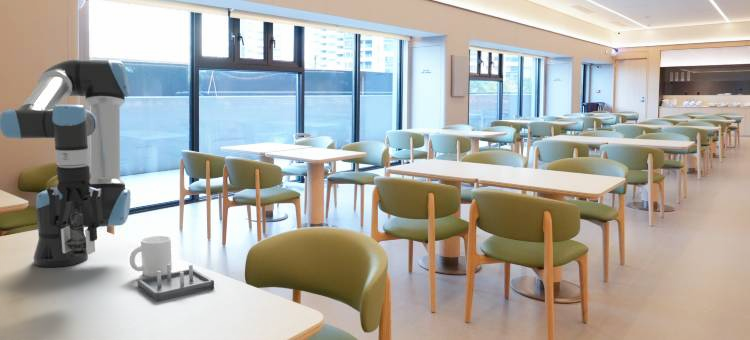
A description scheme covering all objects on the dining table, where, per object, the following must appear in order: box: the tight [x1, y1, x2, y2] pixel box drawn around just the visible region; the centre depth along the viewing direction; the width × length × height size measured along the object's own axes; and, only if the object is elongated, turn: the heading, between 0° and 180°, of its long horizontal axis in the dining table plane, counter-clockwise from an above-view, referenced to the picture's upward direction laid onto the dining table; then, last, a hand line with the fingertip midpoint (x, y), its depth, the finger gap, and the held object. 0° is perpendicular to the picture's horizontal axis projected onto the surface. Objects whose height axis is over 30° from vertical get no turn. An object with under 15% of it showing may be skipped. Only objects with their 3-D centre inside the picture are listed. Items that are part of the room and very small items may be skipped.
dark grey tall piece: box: [66, 210, 89, 257], centre depth 154 cm, size 6×6×12 cm
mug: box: [129, 235, 173, 278], centre depth 174 cm, size 12×8×10 cm
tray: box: [136, 264, 215, 303], centre depth 163 cm, size 14×16×6 cm
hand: (79, 251), depth 155 cm, fingers closed on dark grey tall piece, 6 cm apart
